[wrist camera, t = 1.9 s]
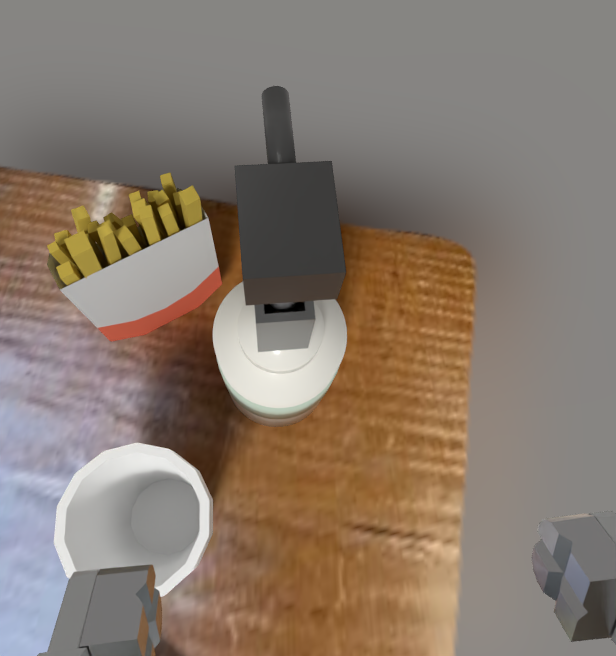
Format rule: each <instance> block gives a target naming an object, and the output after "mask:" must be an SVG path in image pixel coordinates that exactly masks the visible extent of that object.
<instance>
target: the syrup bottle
mask: <svg viewBox="0 0 616 656" xmlns="http://www.w3.org/2000/svg"><path fill="white" fill-rule="evenodd" d="M346 343H347V328H346V323H345V318H344V316H343V313H342V310H341V308H340V306H339V304H338V303H337V301H336V300H335V299H331V300H317V301H303V302H297V303H296V305H295V306H294V307H293V308H292V309H291V310H289V311H278V310H276V309H274V308H273V307H272V306H271V305H270V304H261V305H247V306H246V303H245V294H244V286H243V282H241V283H240V284H238V285H237V286H236V287H235V288H234V289H232V290H231V291H230V292H229V294H228V295H227V296H226V297H225V298H224V300H223V302H222V303H221V305H220V307H219V309H218V311H217V313H216V317H215V320H214V325H213V345H214V349H215V353H216V357H217V362H218V366H219V369H220V372H221V375H222V377H223V380H224V383H225V385H226V387H227V389H228V391H229V393H230V396H231V398H232V400H233V402H234V404H235V405H236V407H237V408H238V409H239V410H240V411H241V412H242V413H243V414H244V415H245V416H246V417H247V418H249V419H250V420H252V421H254V422H256V423H259V424H261V425H265V426H271V427H283V426H289V425H292V424H295V423H297V422H299V421H301V420H303V419H304V418H306V417H307V416H308V415H310V414H311V413H312V412H313V411H314V410H315V409H316V407H317V406H318V404H319V403H320V401H321V399H322V398H323V397H324V395H325V394H326V392H327V390H328V388H329V387H330V385H331V383H332V381H333V379H334V377H335V375H336V373H337V371H338V368H339V366H340V363H341V361H342V358H343V356H344V353H345V348H346Z"/></svg>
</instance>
